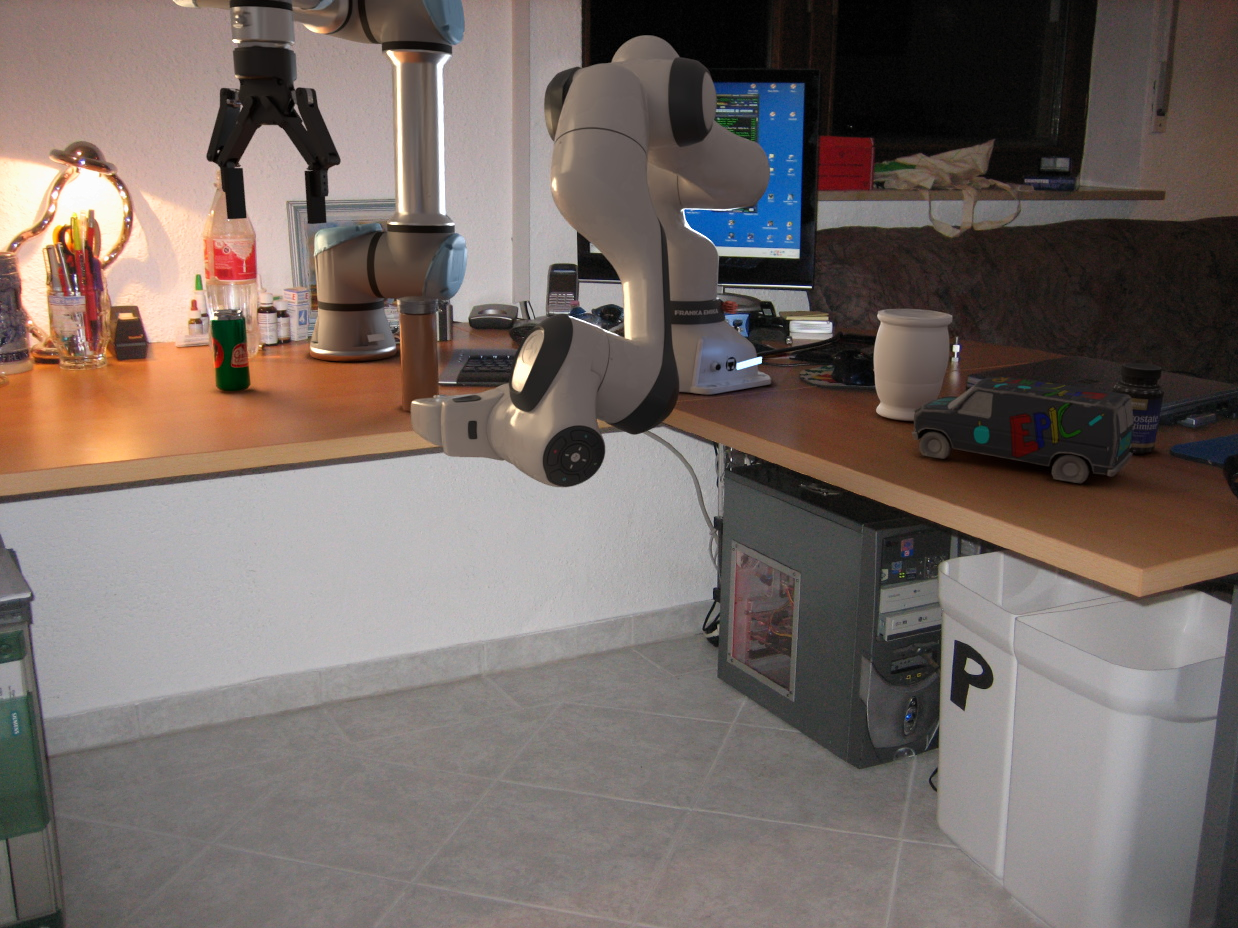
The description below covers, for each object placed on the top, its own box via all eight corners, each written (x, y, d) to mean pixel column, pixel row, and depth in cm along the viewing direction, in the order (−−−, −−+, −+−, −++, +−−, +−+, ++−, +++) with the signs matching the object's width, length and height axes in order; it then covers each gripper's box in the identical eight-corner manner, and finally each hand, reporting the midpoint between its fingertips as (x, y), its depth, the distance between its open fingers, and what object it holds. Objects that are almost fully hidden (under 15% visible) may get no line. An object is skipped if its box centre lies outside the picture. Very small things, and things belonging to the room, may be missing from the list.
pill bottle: (1117, 454, 138) (1130, 370, 135) (1094, 442, 144) (1106, 361, 140) (1163, 454, 138) (1177, 370, 135) (1139, 442, 144) (1152, 361, 141)
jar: (854, 409, 159) (862, 309, 155) (910, 404, 163) (920, 306, 159) (898, 426, 150) (909, 320, 146) (957, 420, 154) (969, 317, 150)
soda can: (239, 393, 162) (233, 314, 158) (209, 391, 163) (202, 312, 159) (257, 386, 167) (251, 309, 163) (227, 384, 168) (221, 308, 164)
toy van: (934, 436, 145) (942, 364, 142) (1131, 470, 131) (1144, 390, 128) (905, 453, 136) (913, 376, 134) (1112, 490, 123) (1125, 406, 120)
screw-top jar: (446, 407, 156) (444, 302, 152) (421, 414, 152) (417, 305, 148) (420, 402, 159) (417, 298, 155) (394, 408, 155) (390, 302, 151)
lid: (446, 310, 152) (446, 298, 152) (418, 315, 148) (417, 302, 147) (417, 307, 156) (417, 295, 155) (388, 311, 151) (388, 299, 151)
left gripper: (167, 47, 135) (183, 218, 141) (322, 42, 125) (332, 227, 131) (212, 52, 142) (226, 215, 148) (363, 48, 132) (371, 224, 138)
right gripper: (596, 387, 128) (548, 366, 140) (432, 404, 119) (396, 380, 130) (596, 438, 130) (549, 413, 141) (434, 458, 121) (398, 430, 132)
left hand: (276, 221), depth 140 cm, fingers open, 13 cm apart
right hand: (474, 397), depth 136 cm, fingers open, 8 cm apart
